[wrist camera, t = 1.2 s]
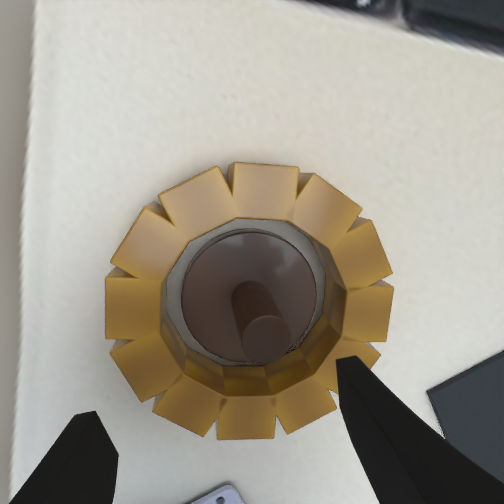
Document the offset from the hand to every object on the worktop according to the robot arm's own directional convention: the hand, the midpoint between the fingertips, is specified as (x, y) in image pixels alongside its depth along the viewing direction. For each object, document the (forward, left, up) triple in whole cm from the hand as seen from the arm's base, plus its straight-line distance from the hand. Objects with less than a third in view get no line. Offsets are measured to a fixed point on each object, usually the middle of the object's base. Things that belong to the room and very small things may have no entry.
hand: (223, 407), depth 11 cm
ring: (+2, 0, -9) cm, 9 cm away
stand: (+2, 0, -9) cm, 9 cm away
